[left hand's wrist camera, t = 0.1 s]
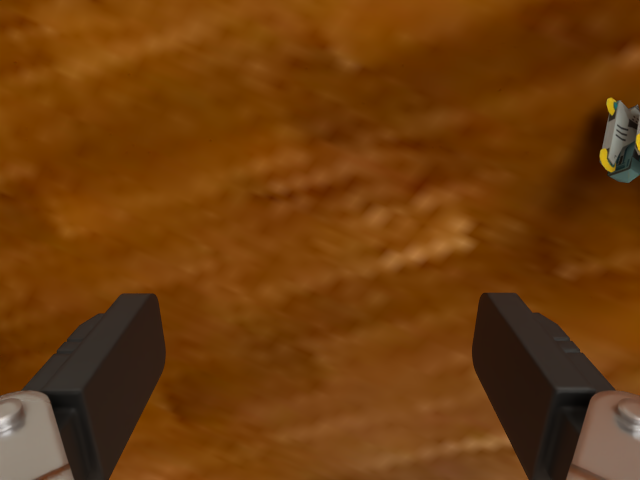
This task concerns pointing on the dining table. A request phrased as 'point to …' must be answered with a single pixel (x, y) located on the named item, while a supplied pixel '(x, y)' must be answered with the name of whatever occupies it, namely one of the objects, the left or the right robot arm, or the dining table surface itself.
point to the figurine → (621, 142)
